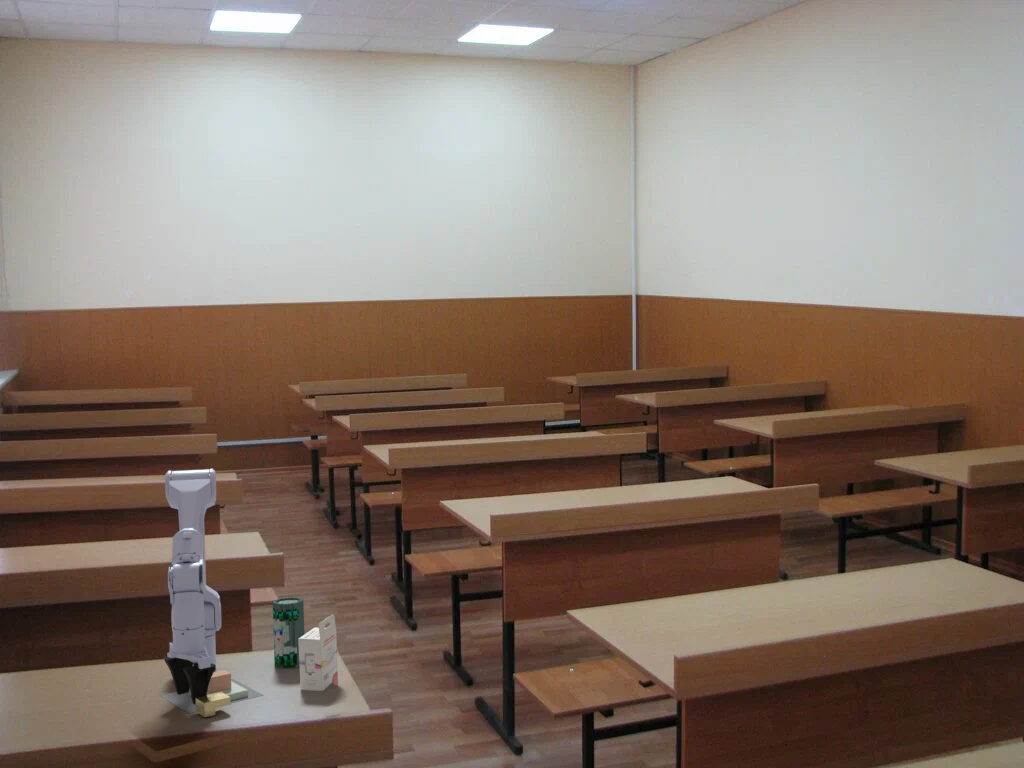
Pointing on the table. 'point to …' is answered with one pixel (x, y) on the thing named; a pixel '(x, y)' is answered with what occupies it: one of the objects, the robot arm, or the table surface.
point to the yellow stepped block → (211, 703)
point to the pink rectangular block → (225, 686)
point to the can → (287, 631)
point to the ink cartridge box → (318, 657)
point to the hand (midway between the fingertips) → (190, 698)
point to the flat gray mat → (187, 705)
